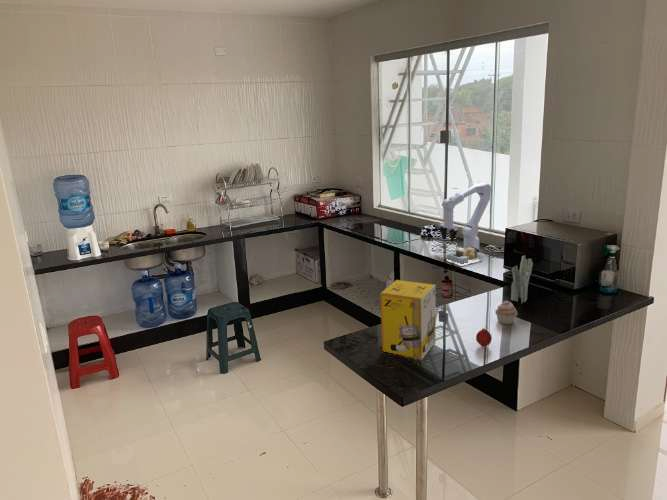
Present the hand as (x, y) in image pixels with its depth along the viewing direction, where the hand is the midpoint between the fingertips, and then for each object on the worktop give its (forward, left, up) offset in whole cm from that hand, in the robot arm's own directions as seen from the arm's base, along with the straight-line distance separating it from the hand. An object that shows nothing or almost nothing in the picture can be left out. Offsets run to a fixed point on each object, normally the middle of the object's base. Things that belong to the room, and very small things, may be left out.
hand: (448, 239), depth 313 cm
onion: (+72, +103, -10) cm, 126 cm away
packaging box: (+96, +87, -10) cm, 130 cm away
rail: (+1, +17, -8) cm, 19 cm away
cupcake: (+48, +92, -10) cm, 104 cm away
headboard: (+3, +17, -9) cm, 20 cm away
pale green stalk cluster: (+24, +78, -10) cm, 82 cm away
